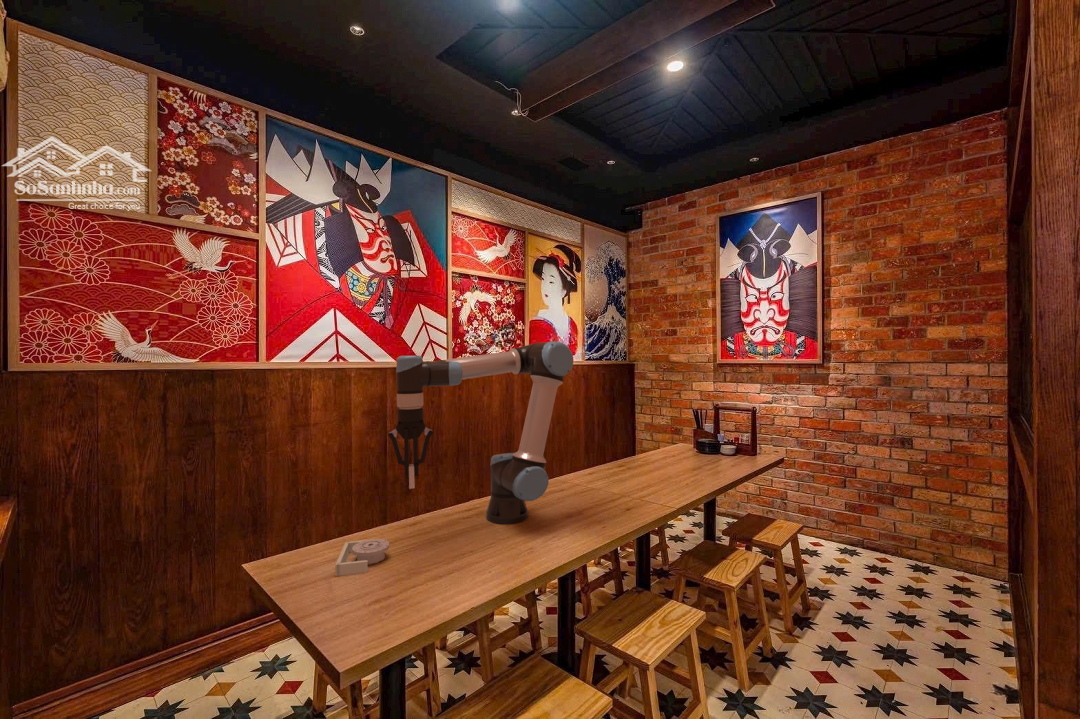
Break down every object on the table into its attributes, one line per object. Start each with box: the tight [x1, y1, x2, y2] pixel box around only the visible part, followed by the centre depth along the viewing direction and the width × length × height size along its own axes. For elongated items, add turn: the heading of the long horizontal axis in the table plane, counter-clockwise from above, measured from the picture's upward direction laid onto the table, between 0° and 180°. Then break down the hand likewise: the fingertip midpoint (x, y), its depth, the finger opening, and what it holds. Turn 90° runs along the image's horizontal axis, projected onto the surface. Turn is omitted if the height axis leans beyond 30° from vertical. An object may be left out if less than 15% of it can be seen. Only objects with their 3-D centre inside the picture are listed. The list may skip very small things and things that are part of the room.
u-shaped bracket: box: [334, 539, 369, 577], centre depth 131 cm, size 8×16×3 cm, turn 14°
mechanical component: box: [351, 538, 390, 566], centre depth 132 cm, size 10×4×10 cm
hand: (411, 487), depth 136 cm, fingers closed
